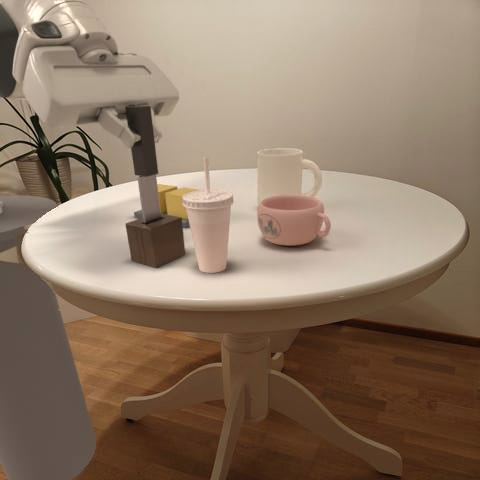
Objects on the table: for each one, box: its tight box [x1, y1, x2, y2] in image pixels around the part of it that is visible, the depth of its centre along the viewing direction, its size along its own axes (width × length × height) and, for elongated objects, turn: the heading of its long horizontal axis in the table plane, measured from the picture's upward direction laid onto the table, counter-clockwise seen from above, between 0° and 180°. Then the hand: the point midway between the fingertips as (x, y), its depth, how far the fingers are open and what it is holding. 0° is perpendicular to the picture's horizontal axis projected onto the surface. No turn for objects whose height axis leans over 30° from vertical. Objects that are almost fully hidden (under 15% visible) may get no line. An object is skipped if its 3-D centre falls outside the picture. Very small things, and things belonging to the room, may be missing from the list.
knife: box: [125, 106, 161, 225], centre depth 55 cm, size 2×3×14 cm
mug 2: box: [256, 195, 332, 247], centre depth 63 cm, size 12×10×6 cm
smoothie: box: [183, 156, 235, 274], centre depth 54 cm, size 6×6×14 cm
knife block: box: [124, 214, 186, 269], centre depth 59 cm, size 5×6×6 cm
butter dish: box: [133, 209, 190, 229], centre depth 78 cm, size 13×8×1 cm, turn 55°
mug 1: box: [256, 147, 323, 206], centre depth 79 cm, size 12×8×10 cm
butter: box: [157, 183, 200, 219], centre depth 77 cm, size 11×5×4 cm, turn 55°
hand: (145, 142), depth 53 cm, fingers closed on knife, 2 cm apart
